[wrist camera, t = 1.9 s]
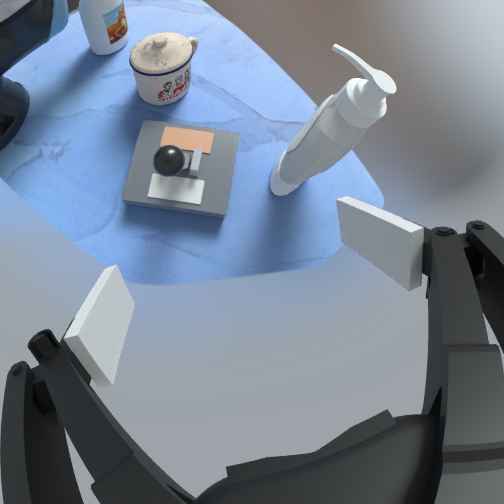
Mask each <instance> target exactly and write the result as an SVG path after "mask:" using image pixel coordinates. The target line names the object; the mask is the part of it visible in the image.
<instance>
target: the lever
mask: <svg viewBox="0 0 504 504" xmlns="http://www.w3.org/2000/svg"><path fill="white" fill-rule="evenodd" d="M191 157H192V155H187V154H184V153H183V152H182V150H181V149H180V148H178V147H177V146H174V145H165V146H163V147H161V148H159V149H158V150H157V151H156V153H155V155H154V157H153V166H154V168H155V170H156V171H157V172H158V173H159V174H160V175H162V176H165V177H171V176H175V175H177V174H178V173H179V172H180V171H181V170H182V169H185V168H188V169H189V167H190V163H191Z"/></svg>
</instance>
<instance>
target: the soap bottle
mask: <svg viewBox="0 0 504 504" xmlns="http://www.w3.org/2000/svg"><path fill="white" fill-rule="evenodd" d="M332 50H334V51H336V52H337V53H339V54H341V55H342V56H344V57H345V58H347V59H348V60H349V61H350V62H351V63H352V64H353V65H354V66H355V67H356V68H357V69H358V70H359V71H360V72H361V73H362V74H363V76H364V77H365V78H366V79H360V78H354V79H351V80H350V81H348V82H347V83H346V84H345V86H344V87H343V88H342V89H341V90H340V91H339V92H338V93H337V94H335V95H331V96H330V97H328V98H327V99H326V100H325V101H324V102H323V104H322V105H321V106H320V107H319V108H318V109H317V111H316V112H315V113H314V114H313V115H312V117H311V118H310V119H309V120H308V121H307V123H306V124H305V125H304V126H303V127H302V128H301V130H300V131H299V132H298V133H297V134H296V136H295V137H294V138H293V139H292V141H291V142H290V144H289V146H288V148H287V149H286V150H285V151H284V152H283V153H282V154H281V155H280V156H279V157H278V158H277V160H276V162H275V164H274V167H273V169H272V173H271V178H270V188H271V191H272V192H273V193H274V195H278V196H283V195H287V194H289V193H290V192H292V191H293V190H294V189H296V188H297V187H298V186H299V185H300V184H301V183H302V182H303V181H304V180H306V179H308V178H310V177H312V176H315V175H317V174H319V173H322V172H324V171H326V170H328V169H329V168H330V167H332V166H333V165H334V164H336V163H337V162H338V161H339V160H340V159H342V158H343V157H344V156H345V155H346V154H347V153H348V152H349V151H350V150H351V149H352V148H353V147H354V146H355V145H356V144H357V143H358V142H359V140H360V139H361V138H362V136H363V134H364V133H365V131H366V128H367V127H369V126H370V125H372V124H373V123H374V122H376V121H377V120H378V119H380V118H381V117H382V116H383V115H384V114H385V113H386V107H387V106H386V98H385V97H386V96H387V95H389V94H393V93H395V92H396V85H395V83H394V81H393V80H392V78H391V77H389V75H387V74H386V73H384V72H383V71H380V70H375V69H373V68H372V67H370V66H369V65H368V64H367V63H365V62H364V61H363V60H362V59H360V58H359V57H358V56H356V55H355V54H353V53H352V52H350V51H348V50H347V49H345V48H343V47H341V46H339V45H337V44H334V45H333V48H332Z"/></svg>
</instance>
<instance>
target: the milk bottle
mask: <svg viewBox="0 0 504 504" xmlns="http://www.w3.org/2000/svg"><path fill="white" fill-rule="evenodd" d="M79 13H80V17H81V20H82V24H83V27H84V30H85V33H86V36H87V38H88V41H89V44H90V47H91V49H92V51H93V52H94V53H95V54H97V55H108V54H112V53H114V52H116V51H118V50H120V49H121V48H122V47H124V46H125V45H126V43H127V41H128V39H129V32H128V26H127V20H126V15H125V9H124V3H123V0H80V2H79Z"/></svg>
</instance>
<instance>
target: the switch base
mask: <svg viewBox="0 0 504 504" xmlns="http://www.w3.org/2000/svg"><path fill="white" fill-rule="evenodd" d="M239 134H240V133H234V132H229V131H224V130H218V129H212V128H206V127H199V126H193V125H185V124H178V123H170V122H161V121H151V120H143V123H142V126H141V129H140V132H139V136H138V139H137V142H136V146H135V149H134V153H133V156H132V160H131V163H130V167H129V171H128V175H127V179H126V183H125V187H124V192H123V196H122V200H123V201H124V202H125V203H126V204H127V205H134V206H142V207H149V208H156V209H163V210H170V211H176V212H183V213H190V214H196V215H203V216H209V217H215V218H221V219H224V217H225V216H226V212H227V206H228V199H229V193H230V187H231V181H232V175H233V169H234V163H235V157H236V151H237V145H238V140H239ZM165 145H174V146H177V147H178V148H180V149H181V150H182V152H183V153H184V154H187V155H192V157H191V163H190V167H189V169H188V168H185V169H182V170H181V171H180V172H179V173H178V174H177V175H175V176H171V177H165V176H162V175H160V174H159V173H158V172H157V171H156V170H155V168H154V166H153V157H154V155H155V153H156V151H157V150H158V149H159V148H161V147H163V146H165Z"/></svg>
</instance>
